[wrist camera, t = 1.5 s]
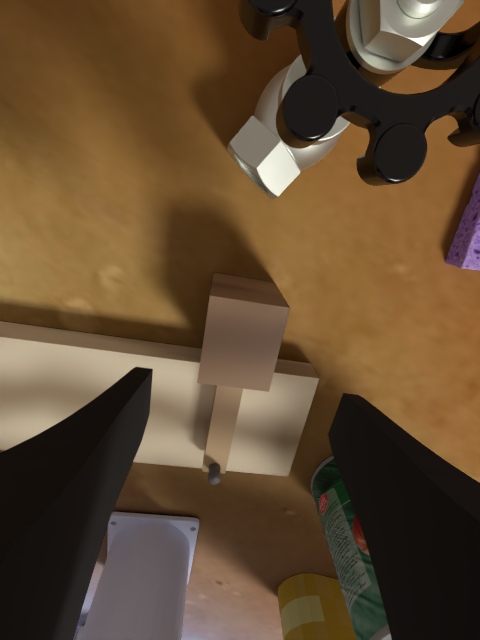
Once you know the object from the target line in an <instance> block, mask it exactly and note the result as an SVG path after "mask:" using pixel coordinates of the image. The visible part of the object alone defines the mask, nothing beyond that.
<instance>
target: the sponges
mask: <svg viewBox="0 0 480 640" xmlns="http://www.w3.org/2000/svg"><path fill="white" fill-rule="evenodd" d="M445 263H446V264H450V265H452V266H457V267H459V268H465V269H473V270H480V172H479V175H478V178H477V180H476V184H475V185H474V188H473V190H472V195H471V197H470V202H469V204H468V205H467V206H466V208H465V211H464V214H463V216H462V219H461V221H460V224H459V227H458V230H457V232H456V234H455V236H454V239H453V242H452V244H451V247H450V250H449V253H448V256H447V258H446V260H445Z"/></svg>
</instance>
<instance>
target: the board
mask: <svg viewBox="0 0 480 640" xmlns="http://www.w3.org/2000/svg"><path fill="white" fill-rule="evenodd" d="M201 353H202V349H201V348H194V347H187V346H179V345H172V344H164V343H157V342H150V341H142V340H135V339H128V338H120V337H113V336H106V335H98V334H91V333H83V332H76V331H69V330H61V329H54V328H47V327H39V326H32V325H25V324H17V323H10V322H2V321H0V450H7V449H9V448H11V447H13V446H16V445H18V444H20V443H22V442H24V441H26V440H28V439H30V438H32V437H34V436H36V435H38V434H39V433H41V432H43V431H45V430H47V429H48V428H50V427H52V426H54V425H55V424H57V423H59V422H61V421H62V420H64V419H65V418H67V417H69V416H70V415H72V414H73V413H75V412H76V411H78V410H79V409H81V408H82V407H83V406H85V405H86V404H88V403H89V402H91V401H92V400H94V399H95V398H96V397H98V396H99V395H100V394H102V393H103V392H104V391H105V390H107V389H108V388H109V387H111V386H112V385H113V384H114V383H116V382H117V381H118V380H119V379H121V378H122V377H123V376H124V375H126V374H127V373H128V372H129V371H130V370H132V369H133V368H135V367H142V368H150V369H153V375H152V388H151V401H150V414H149V418H148V421H147V425H146V428H145V432H144V435H143V439H142V441H141V444H140V446H139V449H138V451H137V454H136V456H135V458H134V461H133V462H138V463H149V464H159V465H170V466H181V467H192V468H202V467H203V456H204V451H205V445H206V439H207V433H208V428H209V422H210V416H211V410H212V404H213V399H214V393H215V387H216V385H210V384H202V383H197V380H198V373H199V366H200V360H201ZM318 381H319V377H318V375H317V373H316V371H315V369H314V367H313V366H312V364H311V363H304V362H297V361H290V360H282V359H277V362H276V366H275V370H274V374H273V378H272V382H271V386H270V390H269V392H267V391H259V390H250V389H243V392H242V397H241V402H240V406H239V411H238V416H237V421H236V425H235V430H234V435H233V439H232V444H231V449H230V453H229V458H228V463H227V467H226V471H235V472H246V473H256V474H267V475H278V476H288V475H289V472H290V469H291V466H292V463H293V460H294V457H295V453H296V450H297V447H298V444H299V441H300V438H301V435H302V432H303V428H304V425H305V422H306V419H307V416H308V413H309V410H310V406H311V403H312V400H313V397H314V394H315V391H316V388H317V384H318Z"/></svg>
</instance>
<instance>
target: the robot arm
mask: <svg viewBox="0 0 480 640" xmlns="http://www.w3.org/2000/svg"><path fill="white" fill-rule="evenodd" d="M152 375H153V369H150V368H142V367H135V368H133V369H132V370H130V371H129V372H128V373H127V374H126V375H124V376H123V377H122V378H121V379H119V380H118V381H117V382H116V383H114V384H113V385H112V386H111V387H109V388H108V389H107V390H105V391H104V392H103V393H102V394H100V395H99V396H98V397H96V398H95V399H94V400H92V401H91V402H89V403H88V404H86V405H85V406H83V407H82V408H81V409H79V410H78V411H76V412H75V413H73V414H72V415H70V416H69V417H67V418H65V419H64V420H62V421H61V422H59V423H57V424H55V425H54V426H52V427H50V428H48V429H47V430H45V431H43V432H41V433H39V434H38V435H36V436H34V437H32V438H30V439H28V440H26V441H24V442H22V443H20V444H18V445H16V446H13V447H11V448H9V449H7V450H5V451H3V452H1V453H0V640H73V636H74V633H75V630H76V626H77V623H78V620H79V616H80V613H81V610H82V606H83V603H84V600H85V596H86V593H87V590H88V586H89V583H90V580H91V577H92V574H93V570H94V567H95V564H96V561H97V557H98V554H99V551H100V548H101V545H102V542H103V539H104V535H105V532H106V529H107V526H108V541H107V559H106V562H105V565H104V568H103V571H102V574H101V577H100V580H99V583H98V586H97V589H96V592H95V595H94V598H93V601H92V604H91V607H90V610H89V613H88V616H87V619H86V622H85V625H84V628H83V631H82V634H81V637H80V640H181V637H182V627H183V617H184V607H185V597H186V587H187V583H188V582H189V577H190V571H191V566H192V561H193V555H194V550H195V545H196V539H197V534H198V529H199V519H197V518H193V517H180V516H166V515H153V514H140V513H126V512H113V509H114V506H115V504H116V501H117V499H118V496H119V494H120V492H121V489H122V487H123V484H124V482H125V480H126V477H127V475H128V473H129V470H130V468H131V466H132V463H133V461H134V458H135V456H136V454H137V451H138V449H139V446H140V444H141V441H142V439H143V435H144V432H145V428H146V425H147V421H148V418H149V414H150V401H151V388H152ZM328 436H329V440H330V445H331V449H332V453H333V456H334V460H335V463H336V465H337V468H338V471H339V473H340V476H341V478H342V481H343V483H344V486H345V488H346V491H347V493H348V496H349V498H350V501H351V503H352V506H353V508H354V511H355V513H356V516H357V518H358V521H359V524H360V526H361V529H362V532H363V535H364V538H365V541H366V545H367V548H368V551H369V555H370V558H371V561H372V565H373V568H374V572H375V576H376V579H377V583H378V587H379V590H380V594H381V598H382V602H383V605H384V609H385V613H386V618H387V622H388V626H389V630H390V634H391V638H392V640H480V483H479V482H477V481H476V480H474V479H473V478H471V477H470V476H468V475H466V474H465V473H463V472H462V471H460V470H459V469H457V468H456V467H454V466H453V465H451V464H450V463H448V462H447V461H445V460H444V459H442V458H441V457H439V456H438V455H437V454H435V453H434V452H433V451H431V450H430V449H428V448H427V447H426V446H424V445H423V444H422V443H420V442H419V441H418V440H416V439H415V438H414V437H412V436H411V435H410V434H408V433H407V432H406V431H405V430H403V429H402V428H401V427H400V426H398V425H397V424H396V423H394V422H393V421H392V420H391V419H389V418H388V417H387V416H386V415H384V414H383V413H382V412H381V411H379V410H378V409H377V408H376V407H374V406H373V405H372V404H370V403H369V402H368V401H366V400H365V399H364V398H362V397H361V396H359V395H354V394H346V393H343V396H342V398H341V401H340V404H339V407H338V409H337V412H336V415H335V417H334V420H333V423H332V425H331V428H330V431H329V433H328Z"/></svg>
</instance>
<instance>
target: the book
mask: <svg viewBox="0 0 480 640" xmlns="http://www.w3.org/2000/svg"><path fill="white" fill-rule="evenodd" d="M277 594H278V602H279V609H280V617H281V624H282V632H283V639H284V640H357V638H356V635H355V632H354V630H353V627H352V623H351V619H350V615H349V612H348V610H347V606H346V602H345V599H344V596H343V594H342V589H341V586H340V583H339V580H337V579H333V578H330V577H326V576H322V575H318V574H315V573H302V574H298V575H294V576H291V577H290V578H288V579H286V580H284V581H283V582H282V583H281V585H280V586H279V587H278V592H277Z"/></svg>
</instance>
